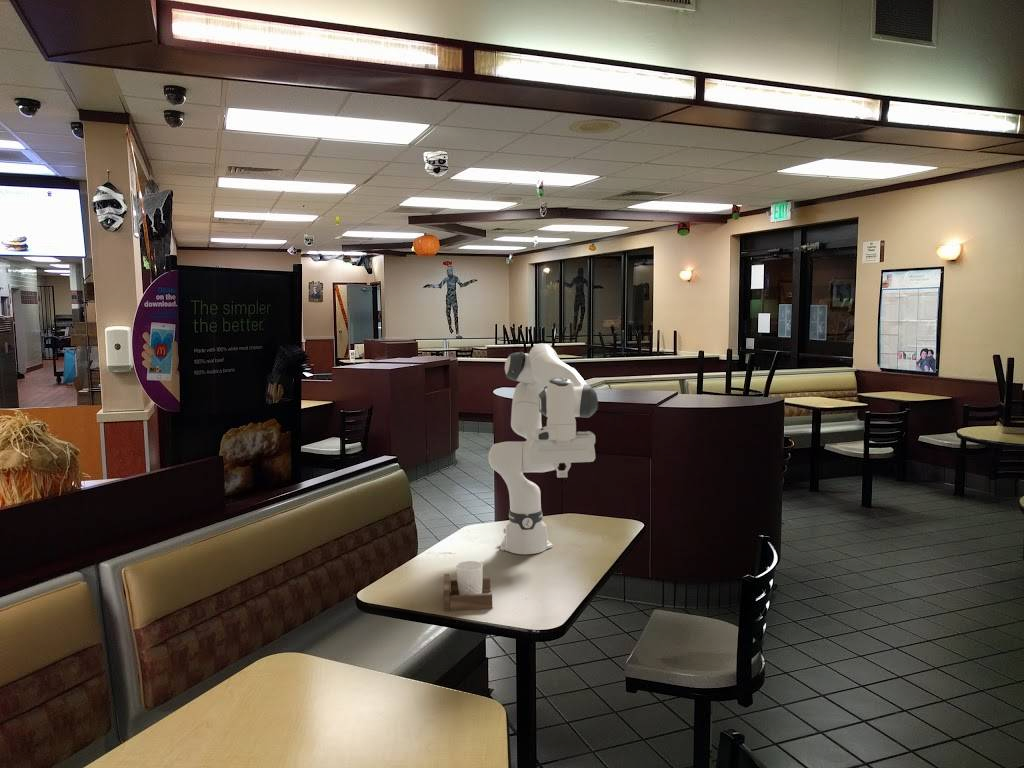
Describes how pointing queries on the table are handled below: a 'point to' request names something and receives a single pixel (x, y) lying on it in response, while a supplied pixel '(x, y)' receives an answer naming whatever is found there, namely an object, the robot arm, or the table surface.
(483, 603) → the open brown box
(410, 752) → the table surface
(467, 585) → the white cup
